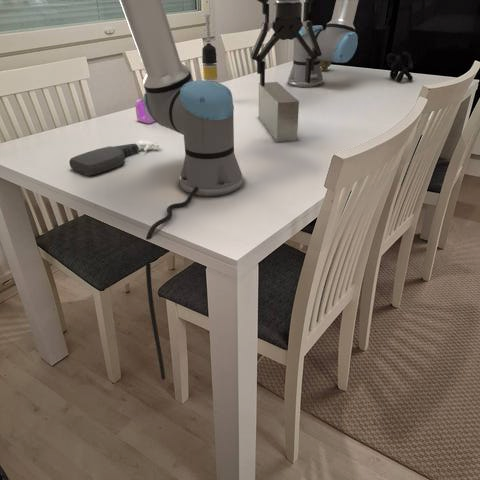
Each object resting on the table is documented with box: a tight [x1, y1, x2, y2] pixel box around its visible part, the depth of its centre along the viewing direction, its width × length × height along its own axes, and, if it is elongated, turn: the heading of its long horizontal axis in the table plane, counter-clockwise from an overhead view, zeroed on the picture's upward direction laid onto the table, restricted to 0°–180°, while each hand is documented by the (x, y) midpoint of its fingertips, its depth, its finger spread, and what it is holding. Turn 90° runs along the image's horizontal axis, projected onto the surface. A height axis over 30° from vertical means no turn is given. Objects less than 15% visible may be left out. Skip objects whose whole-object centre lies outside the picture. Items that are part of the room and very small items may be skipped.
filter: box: [201, 14, 219, 83], centre depth 171 cm, size 6×6×30 cm
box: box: [258, 81, 300, 143], centre depth 143 cm, size 26×6×12 cm, turn 10°
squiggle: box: [385, 51, 414, 83], centre depth 198 cm, size 11×10×15 cm
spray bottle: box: [68, 139, 160, 177], centre depth 124 cm, size 3×11×24 cm
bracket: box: [134, 98, 155, 124], centre depth 156 cm, size 13×6×7 cm, turn 143°
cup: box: [320, 60, 333, 72], centre depth 218 cm, size 8×7×8 cm
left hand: (285, 83), depth 130 cm, fingers open, 13 cm apart
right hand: (286, 24), depth 153 cm, fingers open, 13 cm apart
